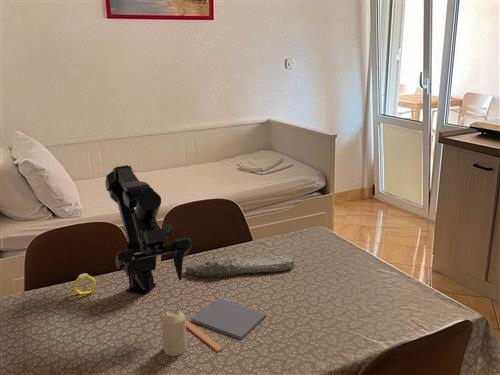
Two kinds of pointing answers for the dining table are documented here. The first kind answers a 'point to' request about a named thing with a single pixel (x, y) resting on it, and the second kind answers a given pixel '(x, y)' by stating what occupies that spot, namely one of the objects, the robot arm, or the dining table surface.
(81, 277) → the gold diamond ring
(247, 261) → the long grey stone
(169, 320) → the candle
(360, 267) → the dining table surface
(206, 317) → the mat
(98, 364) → the dining table surface
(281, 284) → the dining table surface
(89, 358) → the dining table surface
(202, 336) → the orange curved strip
